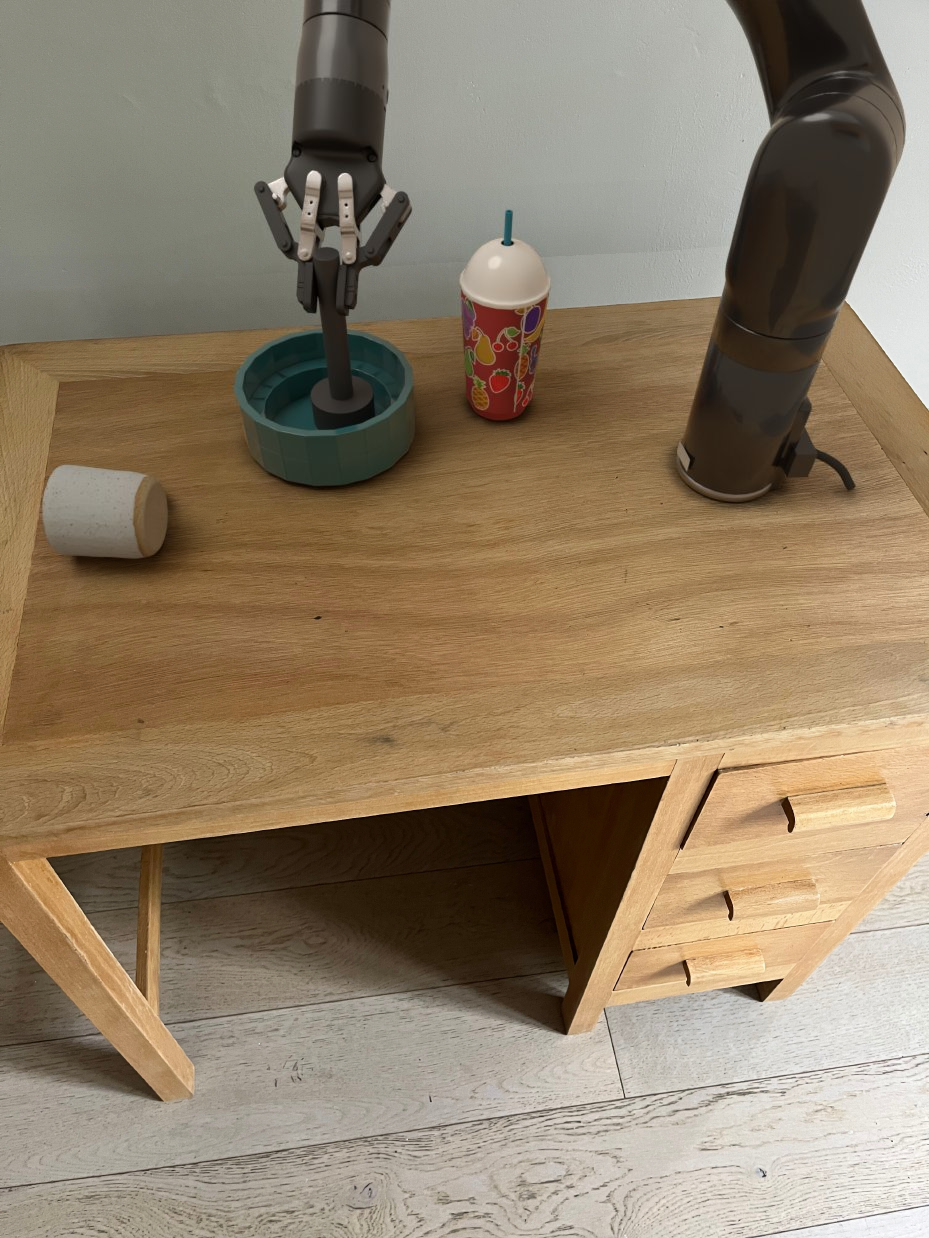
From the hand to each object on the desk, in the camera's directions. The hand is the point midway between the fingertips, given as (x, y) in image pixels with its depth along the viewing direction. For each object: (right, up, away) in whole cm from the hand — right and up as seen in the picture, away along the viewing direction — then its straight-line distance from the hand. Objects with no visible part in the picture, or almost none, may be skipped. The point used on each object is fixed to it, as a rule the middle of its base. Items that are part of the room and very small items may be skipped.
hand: (326, 311), depth 73 cm
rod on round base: (0, -6, +11) cm, 13 cm away
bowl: (-1, -8, +12) cm, 15 cm away
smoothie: (+15, -4, +16) cm, 22 cm away
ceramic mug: (-19, -19, +4) cm, 27 cm away
